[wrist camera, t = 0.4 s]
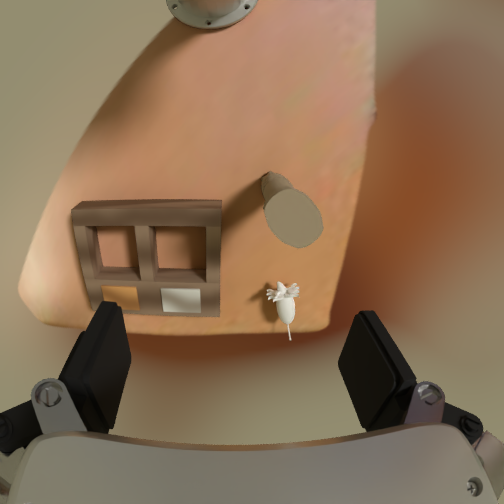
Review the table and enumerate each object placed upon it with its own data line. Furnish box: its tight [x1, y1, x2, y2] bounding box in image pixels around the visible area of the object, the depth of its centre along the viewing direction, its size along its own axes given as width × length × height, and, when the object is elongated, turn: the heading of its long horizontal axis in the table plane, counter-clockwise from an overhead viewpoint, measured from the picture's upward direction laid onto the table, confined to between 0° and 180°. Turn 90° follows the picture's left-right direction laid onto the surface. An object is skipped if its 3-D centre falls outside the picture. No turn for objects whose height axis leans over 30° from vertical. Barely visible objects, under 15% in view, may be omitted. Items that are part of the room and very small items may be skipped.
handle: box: [261, 171, 323, 248], centre depth 35 cm, size 5×6×15 cm
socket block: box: [71, 199, 222, 317], centre depth 43 cm, size 18×22×4 cm
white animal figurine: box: [267, 281, 300, 340], centre depth 49 cm, size 12×5×5 cm, turn 10°
